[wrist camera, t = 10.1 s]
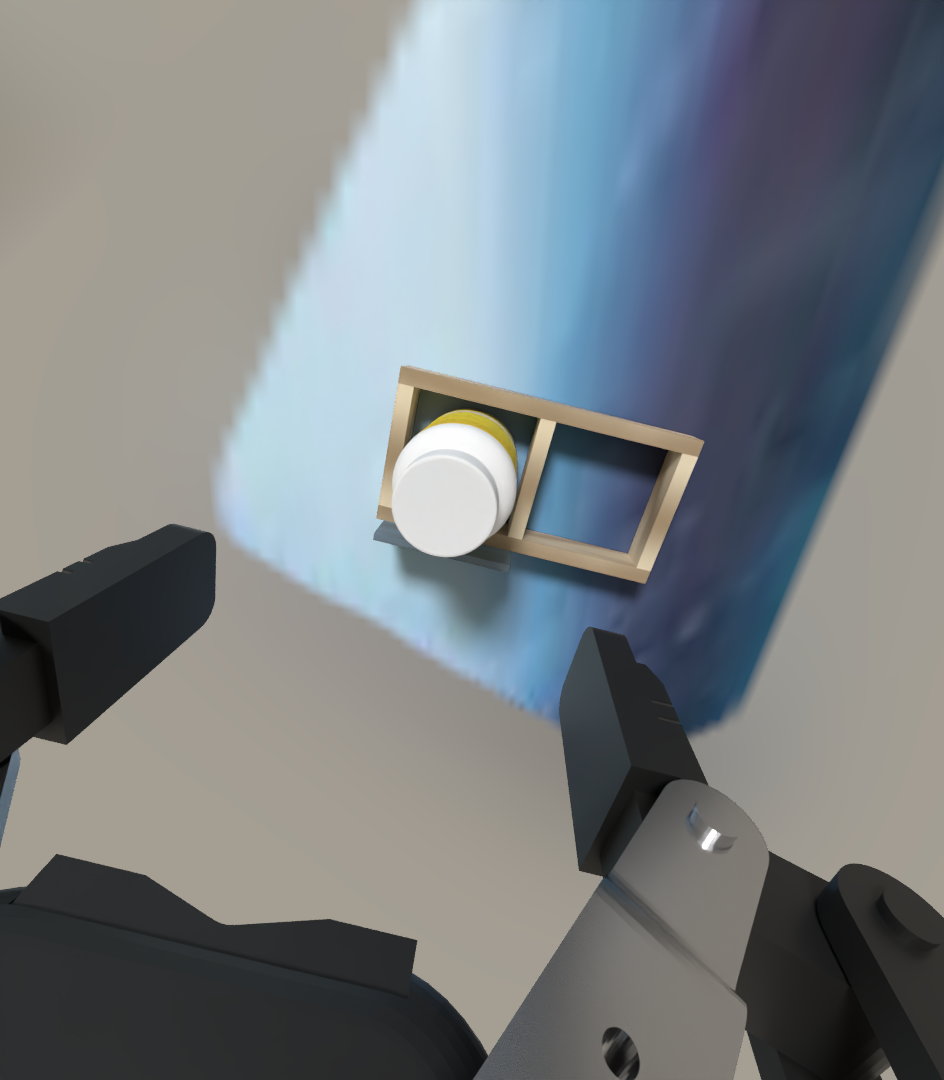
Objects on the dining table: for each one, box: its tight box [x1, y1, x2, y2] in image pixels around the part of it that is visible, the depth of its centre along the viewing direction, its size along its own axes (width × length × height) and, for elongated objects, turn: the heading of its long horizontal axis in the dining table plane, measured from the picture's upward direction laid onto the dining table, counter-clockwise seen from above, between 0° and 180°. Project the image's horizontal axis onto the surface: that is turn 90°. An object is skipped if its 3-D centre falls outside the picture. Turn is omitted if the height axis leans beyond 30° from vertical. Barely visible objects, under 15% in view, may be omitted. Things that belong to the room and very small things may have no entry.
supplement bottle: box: [392, 408, 517, 557], centre depth 22 cm, size 5×5×10 cm
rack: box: [373, 366, 704, 584], centre depth 24 cm, size 8×15×4 cm, turn 77°
